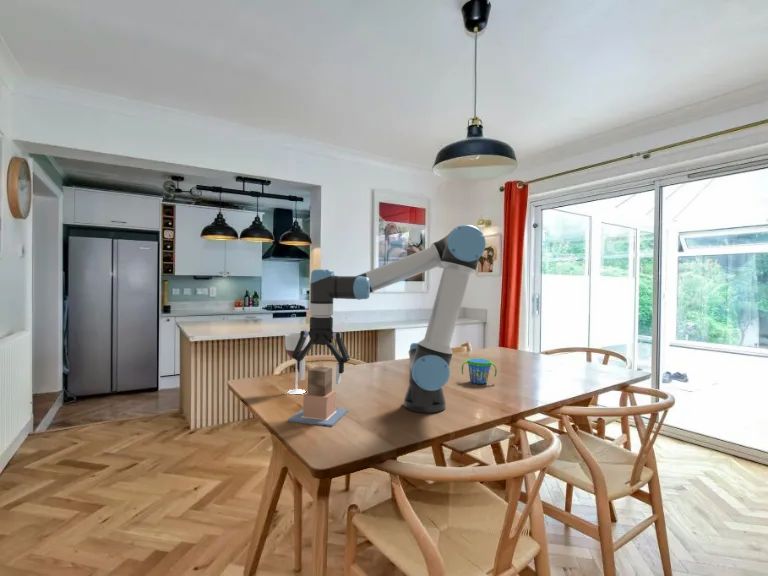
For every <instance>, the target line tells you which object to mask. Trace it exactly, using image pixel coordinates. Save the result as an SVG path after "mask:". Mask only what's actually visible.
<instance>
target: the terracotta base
mask: <svg viewBox="0 0 768 576" xmlns="http://www.w3.org/2000/svg"><path fill="white" fill-rule="evenodd" d="M336 398H337V391H336V390H332V392H330V393H329V394H328V395H326V396H315V395H308V392H307V393H305V394H303V406H302V407H303V408H302V409H303V417H309V418H317V419H327V418H329V417H330V416H331V415H332V414H333V413H334V412H335V408H337V407H336V402H337V401H336Z"/></svg>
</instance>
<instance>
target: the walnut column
mask: <svg viewBox="0 0 768 576" xmlns="http://www.w3.org/2000/svg"><path fill="white" fill-rule="evenodd" d="M332 391H333V367H329V366H328V367H326V366H313V367H312V368H309V369H308V370H307V393H308V395H315V396H326V395H328V394H329V393H330V392H332Z"/></svg>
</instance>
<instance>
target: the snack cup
mask: <svg viewBox="0 0 768 576" xmlns="http://www.w3.org/2000/svg"><path fill="white" fill-rule="evenodd" d="M466 363H467V364H468V374H469V375H468V376H469V381H471V382H470V383H472V382H473V383H472V384H475V383H477V385H485V384H487V383H488V379H489V374H490V369H491V366H493V367H494V368H495V370H494V377H497V374H498V370H497V365H496V364H494V363H493V362H492V361H491V360H489V359H485V358H476V357H475V358H468V359H467V360H465V361H464V362H463V363H462V364H461V374H462V375H464V365H465V364H466ZM484 383H485V384H484Z"/></svg>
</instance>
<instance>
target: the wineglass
mask: <svg viewBox="0 0 768 576" xmlns="http://www.w3.org/2000/svg"><path fill="white" fill-rule="evenodd" d="M299 339H300V333H299V332H298V333H297V332H295V333H286V334H285V335H284V344H285V351H286V353H287V356H289V357H290V358H291V359H293V360H295V373H294V374H295V378H294V380H295V383H294V384H295V385H294V387H295V388H294V389H293V390H292V389H288V390H289V391H288V390H287V391H288V392H287V393H289V394H302V395H304V394H303V393H305V392H306V391H307V390H306V389H303V388H302V389H303V390H302V389H301V388H298V380H299V379H298V376H299V375H298V374H299V373H298V371H299V370H298V369H297V359H295V358H292V355H293V352H294V350H295V348H296V346H297V343H298V341H299ZM309 341H310V336H309V335H308V337H306V340H305V342H304V344H303V347H302V349H301V351H300V353H301V352H302V351H303V349H304V348H305V347H306V346H307V344H308V342H309ZM300 353H299V355H300ZM305 390H306V391H305ZM305 394H306V393H305Z"/></svg>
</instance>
